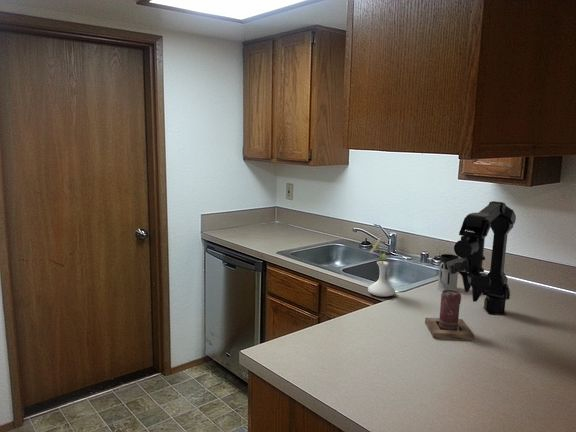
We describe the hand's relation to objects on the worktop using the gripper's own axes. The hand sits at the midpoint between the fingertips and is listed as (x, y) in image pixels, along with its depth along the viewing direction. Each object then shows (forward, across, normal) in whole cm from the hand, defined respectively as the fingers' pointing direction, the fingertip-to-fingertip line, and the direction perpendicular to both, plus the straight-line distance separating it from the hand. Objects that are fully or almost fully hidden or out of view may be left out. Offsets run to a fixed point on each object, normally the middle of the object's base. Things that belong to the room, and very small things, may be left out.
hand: (470, 296), depth 157 cm
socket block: (+13, 0, -7) cm, 14 cm away
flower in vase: (+13, -34, -26) cm, 45 cm away
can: (+13, 0, -6) cm, 14 cm away
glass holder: (+13, -44, +3) cm, 46 cm away
